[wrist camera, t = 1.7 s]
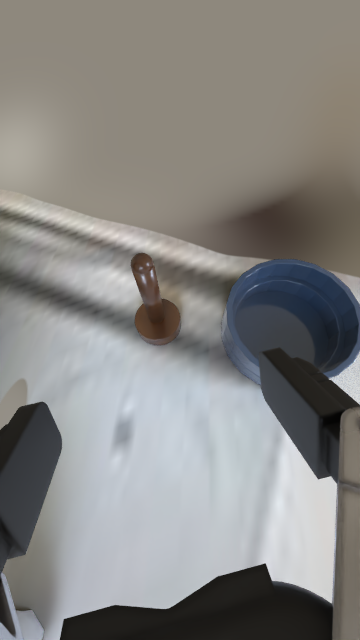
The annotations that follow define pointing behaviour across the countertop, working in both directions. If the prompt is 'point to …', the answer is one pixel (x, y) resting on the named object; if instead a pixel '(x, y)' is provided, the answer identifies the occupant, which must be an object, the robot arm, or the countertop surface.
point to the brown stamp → (153, 305)
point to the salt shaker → (30, 625)
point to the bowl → (291, 317)
